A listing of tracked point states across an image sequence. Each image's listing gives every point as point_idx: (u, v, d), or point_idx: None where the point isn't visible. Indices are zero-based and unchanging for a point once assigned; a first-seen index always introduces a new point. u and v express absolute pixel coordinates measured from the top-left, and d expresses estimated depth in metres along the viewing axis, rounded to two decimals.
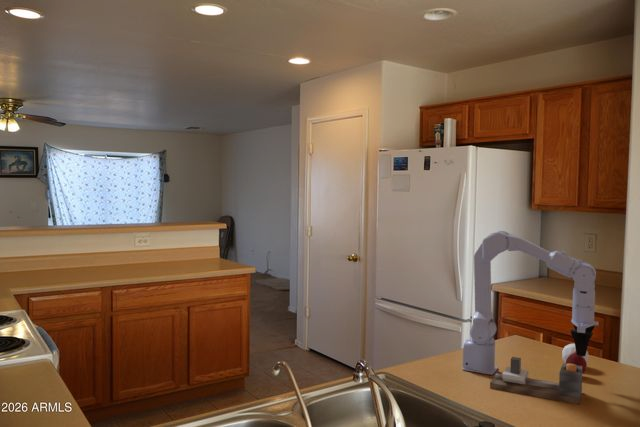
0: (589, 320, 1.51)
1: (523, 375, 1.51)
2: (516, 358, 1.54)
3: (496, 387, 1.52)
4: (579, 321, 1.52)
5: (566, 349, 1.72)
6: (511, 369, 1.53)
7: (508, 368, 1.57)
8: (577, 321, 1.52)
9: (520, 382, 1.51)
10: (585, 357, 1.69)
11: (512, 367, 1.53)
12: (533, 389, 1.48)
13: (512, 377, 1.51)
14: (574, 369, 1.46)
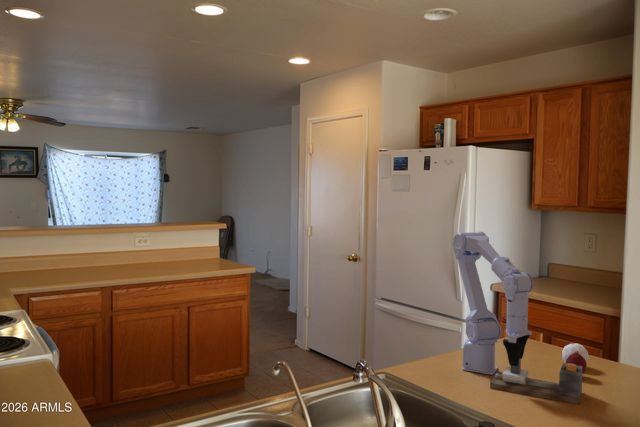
0: (522, 330, 1.51)
1: (523, 375, 1.51)
2: None
3: (496, 387, 1.52)
4: (512, 331, 1.52)
5: (566, 349, 1.72)
6: (511, 369, 1.53)
7: (508, 368, 1.57)
8: (510, 331, 1.52)
9: (520, 382, 1.51)
10: (585, 357, 1.69)
11: (512, 367, 1.53)
12: (533, 389, 1.48)
13: (512, 377, 1.51)
14: (574, 369, 1.46)
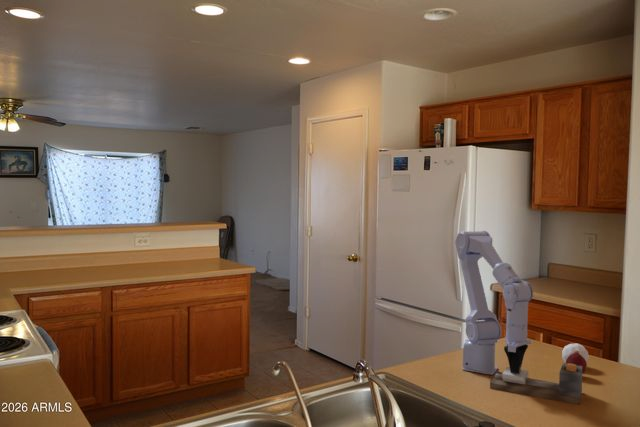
0: (521, 339, 1.51)
1: (523, 375, 1.51)
2: None
3: (496, 387, 1.52)
4: (511, 340, 1.52)
5: (566, 349, 1.72)
6: None
7: (508, 368, 1.57)
8: (510, 340, 1.52)
9: (520, 382, 1.51)
10: (585, 357, 1.69)
11: None
12: (533, 389, 1.48)
13: (512, 377, 1.51)
14: (574, 369, 1.46)
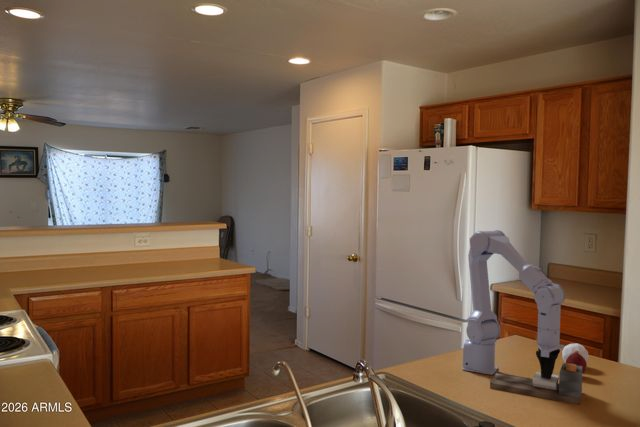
0: (554, 343, 1.47)
1: (554, 380, 1.47)
2: None
3: (496, 387, 1.52)
4: (544, 344, 1.47)
5: (566, 349, 1.72)
6: (541, 374, 1.49)
7: (538, 373, 1.53)
8: (542, 344, 1.48)
9: (551, 388, 1.47)
10: (585, 357, 1.69)
11: None
12: (533, 389, 1.48)
13: (543, 382, 1.47)
14: (574, 369, 1.46)
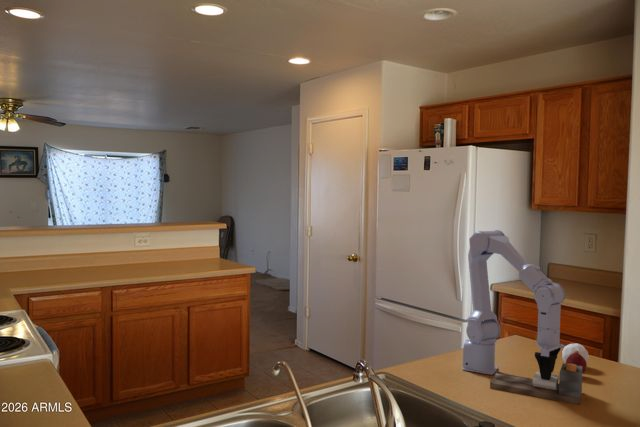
0: (554, 343, 1.47)
1: (554, 380, 1.47)
2: None
3: (496, 387, 1.52)
4: (544, 344, 1.47)
5: (566, 349, 1.72)
6: None
7: (538, 373, 1.53)
8: (542, 344, 1.48)
9: (551, 388, 1.47)
10: (585, 357, 1.69)
11: None
12: (533, 389, 1.48)
13: (543, 382, 1.47)
14: (574, 369, 1.46)
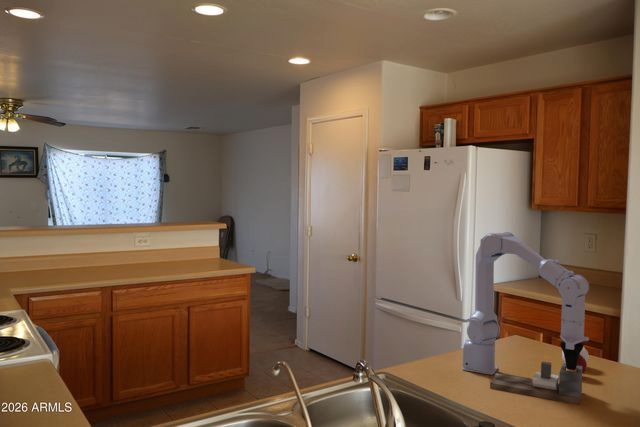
0: (579, 335, 1.44)
1: (554, 380, 1.47)
2: (547, 362, 1.50)
3: (496, 387, 1.52)
4: (568, 337, 1.44)
5: None
6: (541, 374, 1.49)
7: (538, 373, 1.53)
8: (566, 336, 1.45)
9: (551, 388, 1.47)
10: (585, 357, 1.69)
11: (542, 372, 1.49)
12: (533, 389, 1.48)
13: (543, 382, 1.47)
14: None
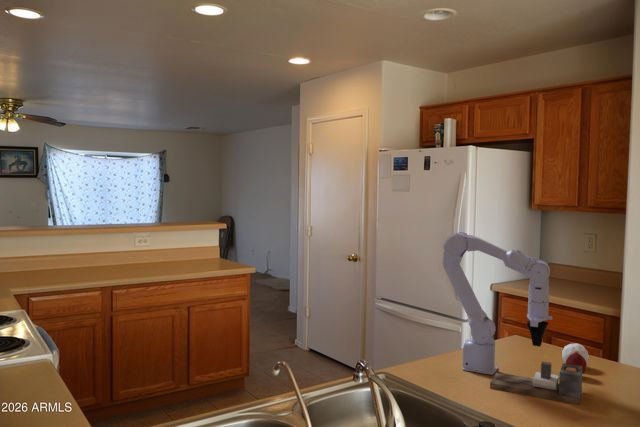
0: (543, 315, 1.58)
1: (554, 380, 1.47)
2: (547, 362, 1.50)
3: (496, 387, 1.52)
4: (533, 316, 1.59)
5: (566, 349, 1.72)
6: (541, 374, 1.49)
7: (538, 373, 1.53)
8: (532, 316, 1.60)
9: (551, 388, 1.47)
10: (585, 357, 1.69)
11: (542, 372, 1.49)
12: (533, 389, 1.48)
13: (543, 382, 1.47)
14: None
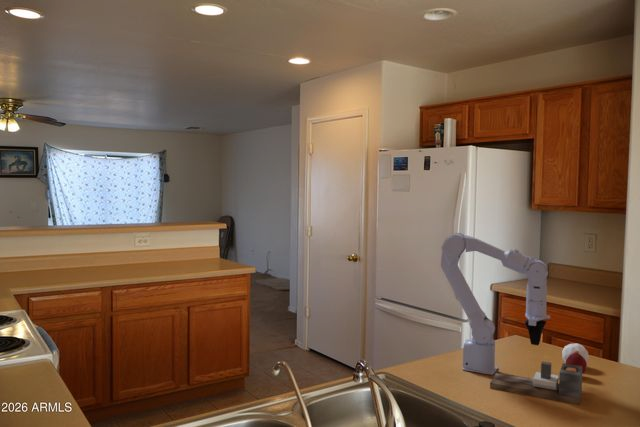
0: (541, 314, 1.59)
1: (554, 380, 1.47)
2: (547, 362, 1.50)
3: (496, 387, 1.52)
4: (531, 315, 1.60)
5: (566, 349, 1.72)
6: (541, 374, 1.49)
7: (538, 373, 1.53)
8: (530, 315, 1.61)
9: (551, 388, 1.47)
10: (585, 357, 1.69)
11: (542, 372, 1.49)
12: (533, 389, 1.48)
13: (543, 382, 1.47)
14: None
